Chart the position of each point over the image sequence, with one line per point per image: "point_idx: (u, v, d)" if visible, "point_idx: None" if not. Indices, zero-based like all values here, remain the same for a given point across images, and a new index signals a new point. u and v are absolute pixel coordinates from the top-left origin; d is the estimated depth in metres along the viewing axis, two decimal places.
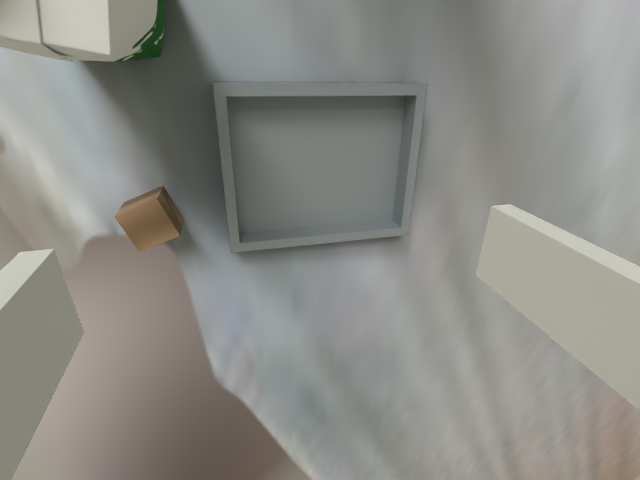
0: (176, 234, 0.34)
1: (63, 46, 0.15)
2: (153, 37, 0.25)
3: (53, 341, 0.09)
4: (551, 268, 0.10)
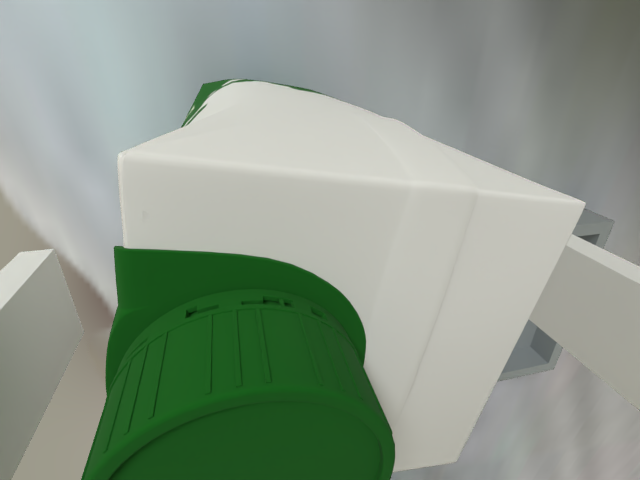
0: None
1: (396, 470, 0.09)
2: None
3: (53, 341, 0.09)
4: None
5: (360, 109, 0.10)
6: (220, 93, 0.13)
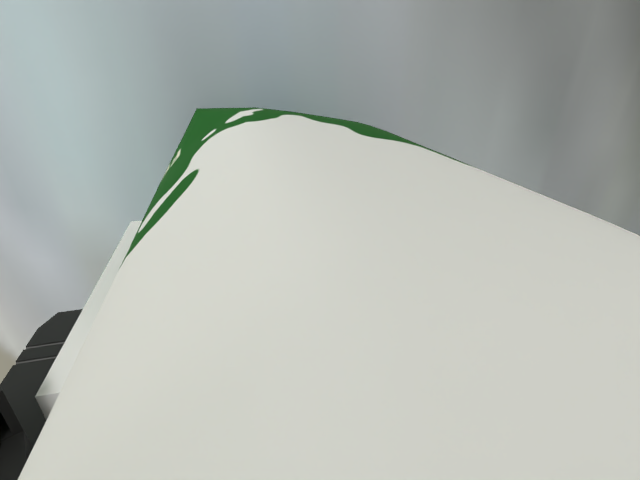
0: None
1: None
2: None
3: None
4: None
5: (609, 229, 0.04)
6: (224, 149, 0.06)
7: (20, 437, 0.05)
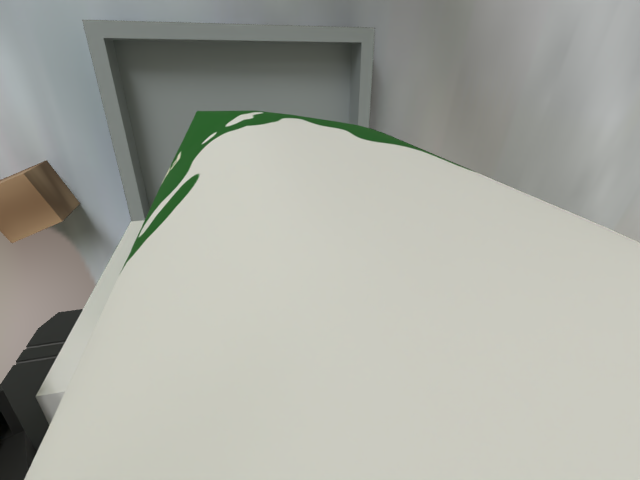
0: (57, 219, 0.27)
1: None
2: None
3: None
4: None
5: (610, 237, 0.04)
6: (224, 154, 0.06)
7: (21, 436, 0.05)
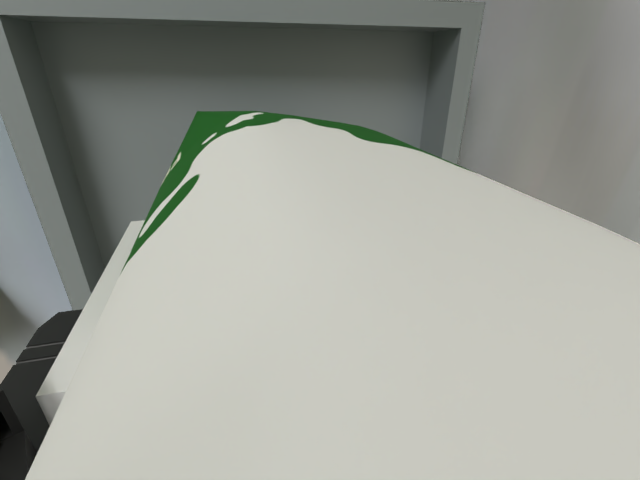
0: None
1: None
2: None
3: None
4: None
5: (610, 237, 0.04)
6: (225, 154, 0.06)
7: (21, 437, 0.05)
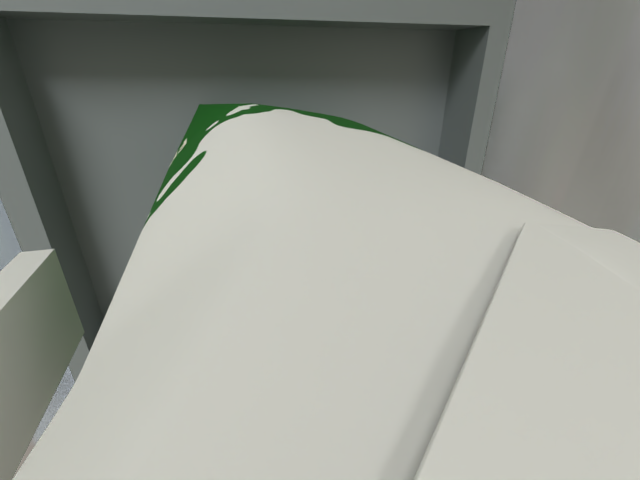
0: None
1: None
2: None
3: (53, 341, 0.09)
4: None
5: (494, 186, 0.05)
6: (226, 135, 0.08)
7: None
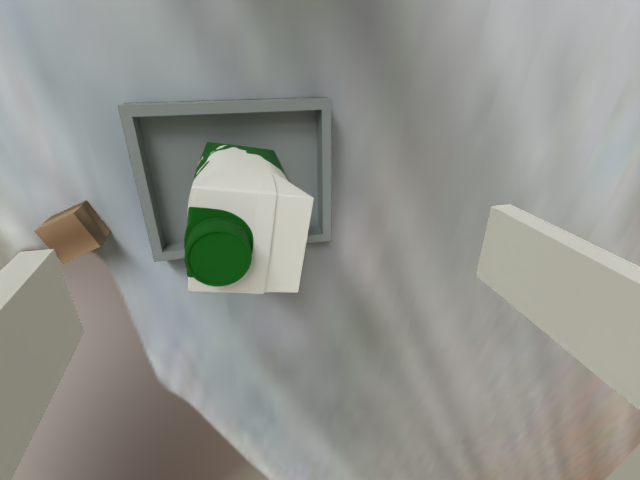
0: (96, 245, 0.36)
1: (274, 291, 0.27)
2: None
3: (53, 341, 0.09)
4: (551, 268, 0.10)
5: (264, 166, 0.28)
6: (214, 156, 0.30)
7: None
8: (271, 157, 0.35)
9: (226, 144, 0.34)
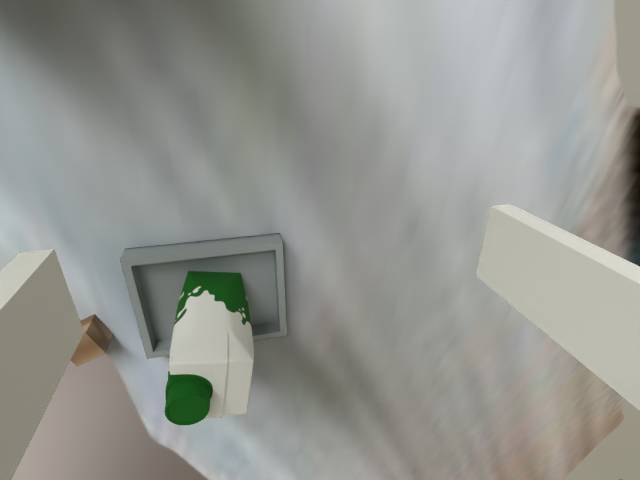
0: (102, 352, 0.48)
1: (229, 414, 0.38)
2: None
3: (53, 341, 0.09)
4: (551, 268, 0.10)
5: (224, 324, 0.39)
6: (190, 305, 0.42)
7: None
8: (235, 292, 0.46)
9: (201, 284, 0.46)
